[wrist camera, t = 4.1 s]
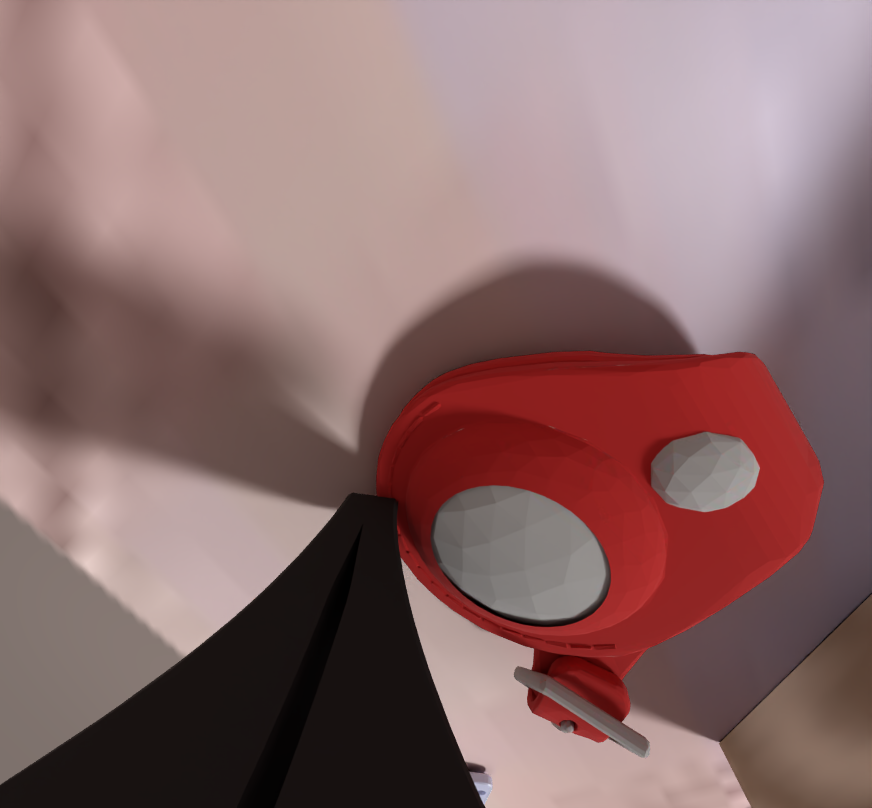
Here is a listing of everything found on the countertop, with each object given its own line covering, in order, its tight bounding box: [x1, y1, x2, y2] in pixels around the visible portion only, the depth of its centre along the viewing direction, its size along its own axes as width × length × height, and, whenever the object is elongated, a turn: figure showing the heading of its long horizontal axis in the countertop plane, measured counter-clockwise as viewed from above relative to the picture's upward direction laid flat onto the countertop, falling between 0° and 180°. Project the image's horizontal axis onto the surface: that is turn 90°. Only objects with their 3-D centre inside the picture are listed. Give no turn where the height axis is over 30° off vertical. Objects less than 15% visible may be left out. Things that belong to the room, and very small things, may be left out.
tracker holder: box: [376, 351, 824, 758], centre depth 10 cm, size 12×4×10 cm
